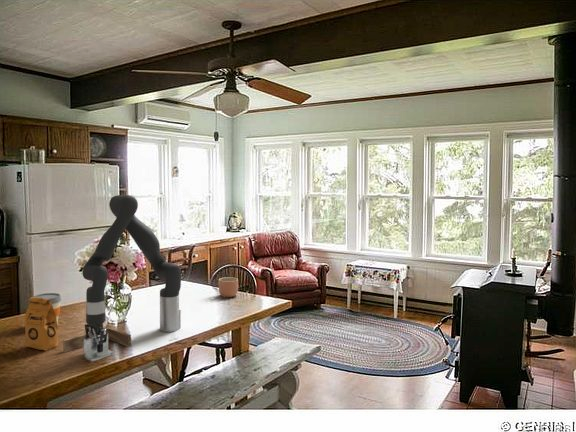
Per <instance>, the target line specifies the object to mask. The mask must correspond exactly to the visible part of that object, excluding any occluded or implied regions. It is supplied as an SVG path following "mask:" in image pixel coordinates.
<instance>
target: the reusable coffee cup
mask: <svg viewBox="0 0 576 432" xmlns="http://www.w3.org/2000/svg"><path fill="white" fill-rule="evenodd" d="M33 297H36V298H44V299H50V301H51V304H52V306H53V309H54V311H55V314H56V318H57V325H58V324H59V323H58V322H59V317H60V314H61V313H60V312H61V301H62V298H61V294H60V293H57V292H47V293H40V294H37V295H36V294H35V295H34V296H33Z"/></svg>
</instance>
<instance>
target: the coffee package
mask: <svg viewBox="0 0 576 432" xmlns="http://www.w3.org/2000/svg"><path fill="white" fill-rule="evenodd" d="M28 301H29V304H28V307H27V310H26V312H25V315H24V328H25V331H24V332H25V334H24V336H25V347H27V348H32V349H36V350H39V351H46V352H47V351H48V350H52V349H54V348H57V347H58V346H59V337H58V336H59V327H58V324H57V318H56V314H55V311H54V309H53V306H52V304H51V301H50V299H44V298H36V297H34V296H31V297H30V298H29V299H28Z"/></svg>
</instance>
